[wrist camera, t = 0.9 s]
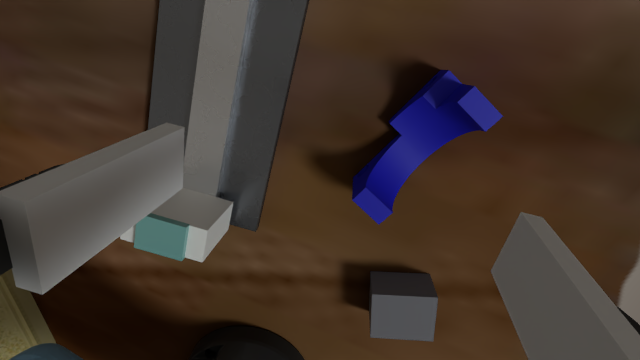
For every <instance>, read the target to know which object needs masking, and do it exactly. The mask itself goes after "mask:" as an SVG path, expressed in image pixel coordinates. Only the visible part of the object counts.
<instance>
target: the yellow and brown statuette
mask: <svg viewBox="0 0 640 360" xmlns="http://www.w3.org/2000/svg"><path fill="white" fill-rule="evenodd" d="M44 343H55V344H56V342H55V340H54V338H53V336H52V334H51V332H50V330H49V328H48V326H47V324H46V322H45V320H44V318H43V316H42V314H41V312H40V310H39V308H38V306H37V304H36V302H35V300H34V298H33V296H32V294H31V292H30V291H28V290H25V289H22V288H19V287H16V285H15V280H14V276H13V272H12V269H10V270H8V271H7V272H5V273H4V274H2V275H0V360H9V359H11V358H12V357H14V356H16V355H17V354H19V353H21V352H22V351H24V350H26V349H28V348H31V347H33V346H36V345H39V344H44Z"/></svg>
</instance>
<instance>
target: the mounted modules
mask: <svg viewBox="0 0 640 360" xmlns="http://www.w3.org/2000/svg"><path fill="white" fill-rule="evenodd" d="M232 207H233V202H232V201H228V200H225V199H221V198H218V197H214V196H211V195H207V194H204V193H200V192H197V191H193V190H189V189H186V188H182V189H181V190H180V191H178V192H177V193H176V194H175V195H173V196H172V197H171V198H169V199H168V200H167V201H165V202H164V203H163V204H161V205H160V206H159V207H157V208H156V209H155V210H154V211H152V212H151V213H150V214H148V215H147V216H146V217H144V218H143V219H142V220H140V221H139V222H138V223H136V224H135V225H134V226H133V227H131V228H130V229H129V230H127V231H126V232H125V233H123V234H122V235H121V236H120V239H122V240H126V241H129V242H133V243H134V248H137V249H141V250H144V251H148V252H151V253H155V254H158V255H162V256H165V257H169V258H172V259H176V260H179V261H182V260H183V259H184V258H189V259H192V260H196V261H199V262H203V261H204V260H205V258H206V257H207V256H208V255H209V253H210V252H211V251H212V249H213V248H214V247H215V246H216V244H217V243H218V242H219V241H220V239H221V238H222V237H223V235H224V234H225V233H226V232H227V230H228V228H229V223H230V218H231V213H232Z"/></svg>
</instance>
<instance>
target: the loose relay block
mask: <svg viewBox="0 0 640 360" xmlns="http://www.w3.org/2000/svg"><path fill="white" fill-rule="evenodd" d="M437 302H438V296H437V294H436V291H435V288H434V285H433V282H432V279H431V276H430V274H422V273H399V272H376V271H371V272H370V300H369V319H370V337H372V338H388V339H404V340H420V341H433V338H434V329H435V320H436V311H437Z"/></svg>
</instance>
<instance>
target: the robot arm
mask: <svg viewBox="0 0 640 360" xmlns="http://www.w3.org/2000/svg"><path fill="white" fill-rule="evenodd" d="M184 129H185V127H182V126H178V125H174V124H170V123H164V124H162V125H159V126H157V127H154V128H152V129H150V130H147V131H145V132H142V133H140V134H137V135H135V136H133V137H130V138H128V139H125V140H123V141H120V142H118V143H115V144H113V145H111V146H108V147H106V148H103V149H101V150H98V151H96V152H94V153H91V154H89V155H86V156H84V157H81V158H79V159H76V160H74V161H72V162H69V163H67V164H62V165H57V166H54V167H51V168H49V169H46V170H44V171H41V172H39V174H34V175H31V176H29V177H26V178H25V180H22V179H21V180H19V181H16V182H14V183H11V184H9V185H6V186H4V187H1V188H0V275H2V274H4V273H5V272H7V271H8V270H10V269H12V272H13V276H14V280H15V285H16V287H19V288H22V289H25V290H28V291H32V292H35V293H38V294H41V295H43V294H44V293H46V292H47V291H48V290H50V289H51V288H52V287H54V286H55V285H56V284H58V283H59V282H60V281H62V280H63V279H64V278H66V277H67V276H68V275H69V274H71V273H72V272H73V271H75V270H76V269H77V268H79V267H80V266H81V265H83V264H84V263H85V262H87V261H88V260H89V259H90V258H92V257H93V256H94V255H96V254H97V253H98V252H100V251H101V250H102V249H104V248H105V247H106V246H108V245H109V244H110V243H111V242H113V241H114V240H115V239H117V238H118V237H119V236H121V235H122V234H123V233H125V232H126V231H127V230H129V229H130V228H131V227H133V226H134V225H135V224H136V223H138V222H139V221H140V220H142V219H143V218H144V217H146V216H147V215H148V214H150V213H151V212H152V211H154V210H155V209H156V208H157V207H159V206H160V205H161V204H163V203H164V202H165V201H167V200H168V199H169V198H171V197H172V196H173V195H175V194H176V193H177V192H178V191H180V190H181V189H182V188H183V166H184ZM491 273H492V275H493V277H494V280H495V282H496V284H497V287H498V289H499V292H500V294H501V296H502V299H503V301H504V303H505V306H506V308H507V310H508V313H509V315H510V317H511V320H512V322H513V324H514V327H515V329H516V331H517V334H518V336H519V339H520V341H521V343H522V346H523V348H524V350H525V353H526V355H527V357H528V360H640V325H639V324H638V323H637V322H636V321H635V320H633V319H632V318H631V317H630V316H628V315H627V314H626V313H625V312H624V311H622V310H621V309H620V308H619V307H616V306H615V305H614V303H613V302H612V301H611V300H610V298H609V297H608V296H607V295H606V294H605V292H604V291H603V290H602V289H601V288H600V286H599V285H598V284H597V283H596V282H595V280H594V279H593V278H592V277H591V276H590V274H589V273H588V272H587V271H586V269H585V268H584V267H583V266H582V265H581V263H580V262H579V261H578V260H577V259H576V257H575V256H574V255H573V254H572V253H571V251H570V250H569V249H568V248H567V246H566V245H565V244H564V243H563V242H562V240H561V239H560V238H559V237H558V236H557V234H556V233H555V232H554V231H553V230H552V228H551V227H550V226H549V225H548V223H547V222H546V221H545V220H544V219H543V218H542V217H539V216H535V215H531V214H527V213H523V212H521V213H520V215H519V217H518V219H517V221H516V223H515V225H514V227H513V229H512V231H511V233H510V235H509V237H508V238H507V240H506V242H505V244H504V246H503V248H502V250H501V252H500V254H499V256H498V258H497V260H496V262H495V264H494V266H493V268H492V270H491ZM9 360H84V359H82V358H81V357H79V356H77V355H76V354H74V353H73V352H71V351H70V350H68V349H67V348H65V347H64V346H61V345H59V344H55V343H44V344H39V345H36V346H33V347H31V348H28V349H26V350H24V351H22V352H21V353H19V354H17V355H16V356H14V357H12V358H11V359H9ZM188 360H304V358H303V357H302V355H301V354H300V353H299V352H298V351H297V350H296V349H295V348H294V347H293V346H292V345H291V344H290V343H289V342H287V341H286V340H284V339H283V338H281V337H279V336H278V335H276V334H273V333H271V332H269V331H266V330H263V329H259V328H255V327H248V326H232V327H226V328H222V329H218V330H216V331H213V332H211V333H210V334H208V335H206V336H205V337H204V338H202V339H201V340H200V341H199V343H198V344H197V345H196V346H195V348H194V350H193V352H192V353H191V355H190V357H189V359H188Z"/></svg>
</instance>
